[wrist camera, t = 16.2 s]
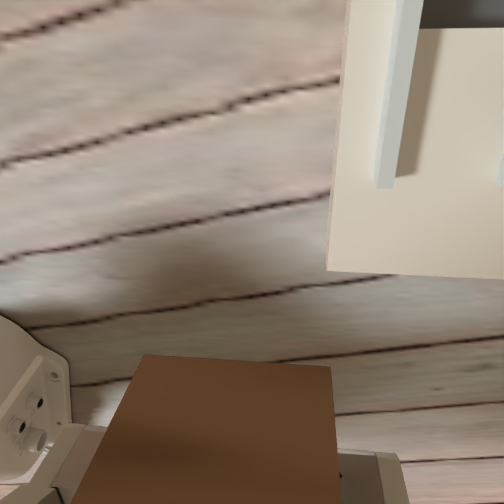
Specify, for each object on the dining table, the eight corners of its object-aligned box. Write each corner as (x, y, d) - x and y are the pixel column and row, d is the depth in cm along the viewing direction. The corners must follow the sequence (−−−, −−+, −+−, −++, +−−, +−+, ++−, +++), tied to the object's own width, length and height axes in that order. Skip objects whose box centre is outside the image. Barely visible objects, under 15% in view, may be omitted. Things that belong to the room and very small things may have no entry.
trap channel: (499, 260, 32) (530, 295, 28) (325, 252, 34) (328, 284, 30) (635, -161, 21) (724, -214, 16) (359, -145, 22) (373, -190, 18)
